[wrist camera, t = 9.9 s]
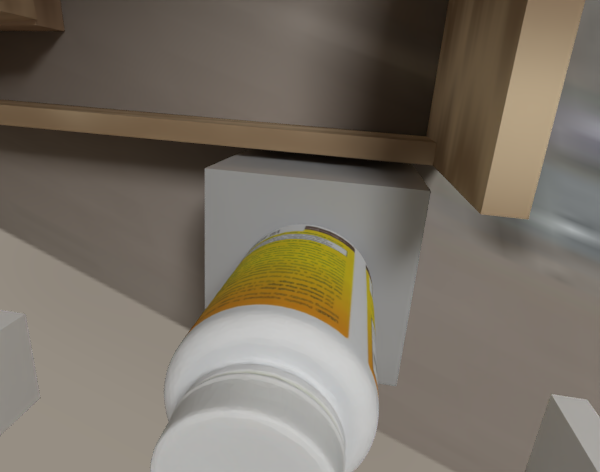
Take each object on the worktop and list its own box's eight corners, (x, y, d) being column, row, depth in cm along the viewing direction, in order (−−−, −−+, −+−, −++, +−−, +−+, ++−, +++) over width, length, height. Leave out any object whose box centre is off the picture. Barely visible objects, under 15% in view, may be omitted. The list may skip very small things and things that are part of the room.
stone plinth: (249, 148, 24) (204, 168, 17) (411, 163, 23) (430, 191, 16) (244, 292, 27) (204, 356, 20) (388, 311, 25) (396, 386, 19)
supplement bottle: (219, 256, 18) (57, 431, 9) (331, 196, 17) (288, 326, 7) (285, 357, 19) (206, 615, 10) (396, 310, 18) (434, 558, 8)
